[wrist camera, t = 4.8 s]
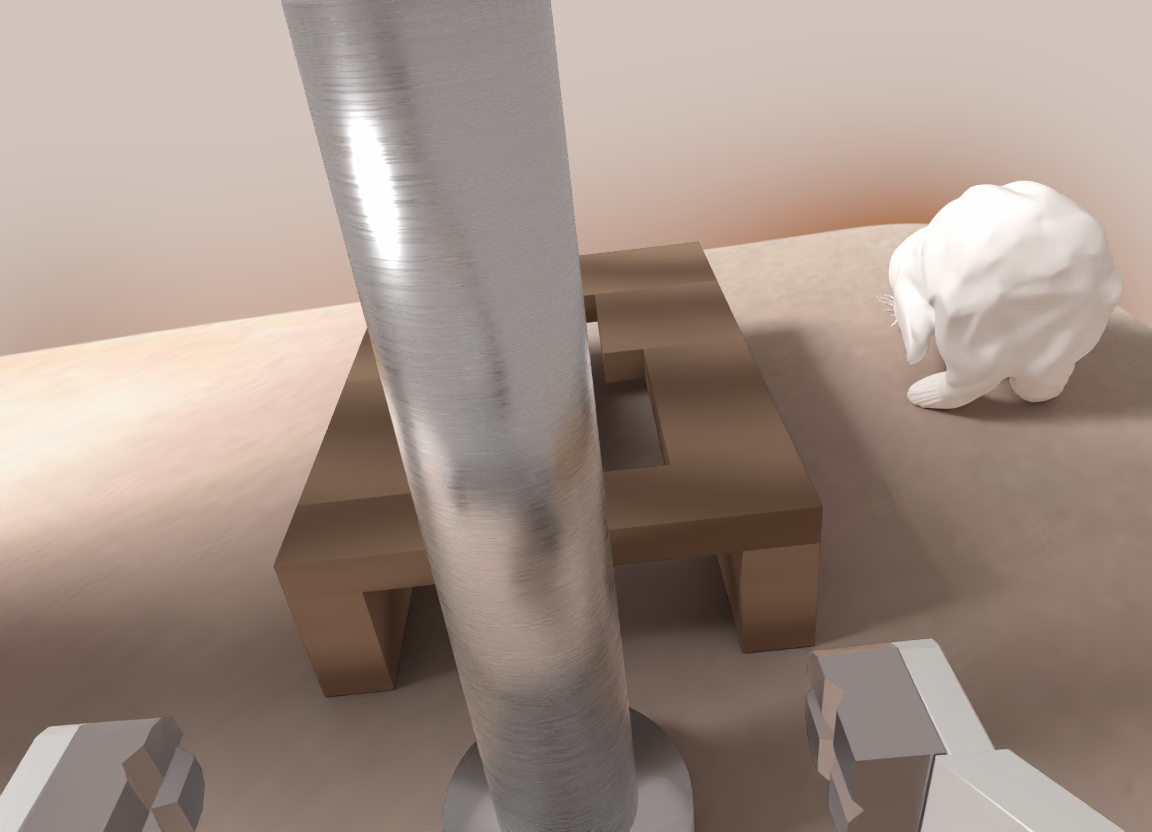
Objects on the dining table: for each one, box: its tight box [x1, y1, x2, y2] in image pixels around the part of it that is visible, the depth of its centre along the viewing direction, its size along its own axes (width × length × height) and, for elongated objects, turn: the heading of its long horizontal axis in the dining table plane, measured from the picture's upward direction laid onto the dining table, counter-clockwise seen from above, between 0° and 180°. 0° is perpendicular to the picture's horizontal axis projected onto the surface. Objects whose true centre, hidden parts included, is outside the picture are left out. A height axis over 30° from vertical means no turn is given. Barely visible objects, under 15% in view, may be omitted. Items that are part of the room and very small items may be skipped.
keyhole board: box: [274, 242, 823, 697], centre depth 31 cm, size 19×14×5 cm
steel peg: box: [281, 0, 695, 832], centre depth 15 cm, size 6×6×18 cm
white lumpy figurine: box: [877, 181, 1123, 409], centre depth 34 cm, size 6×8×12 cm
